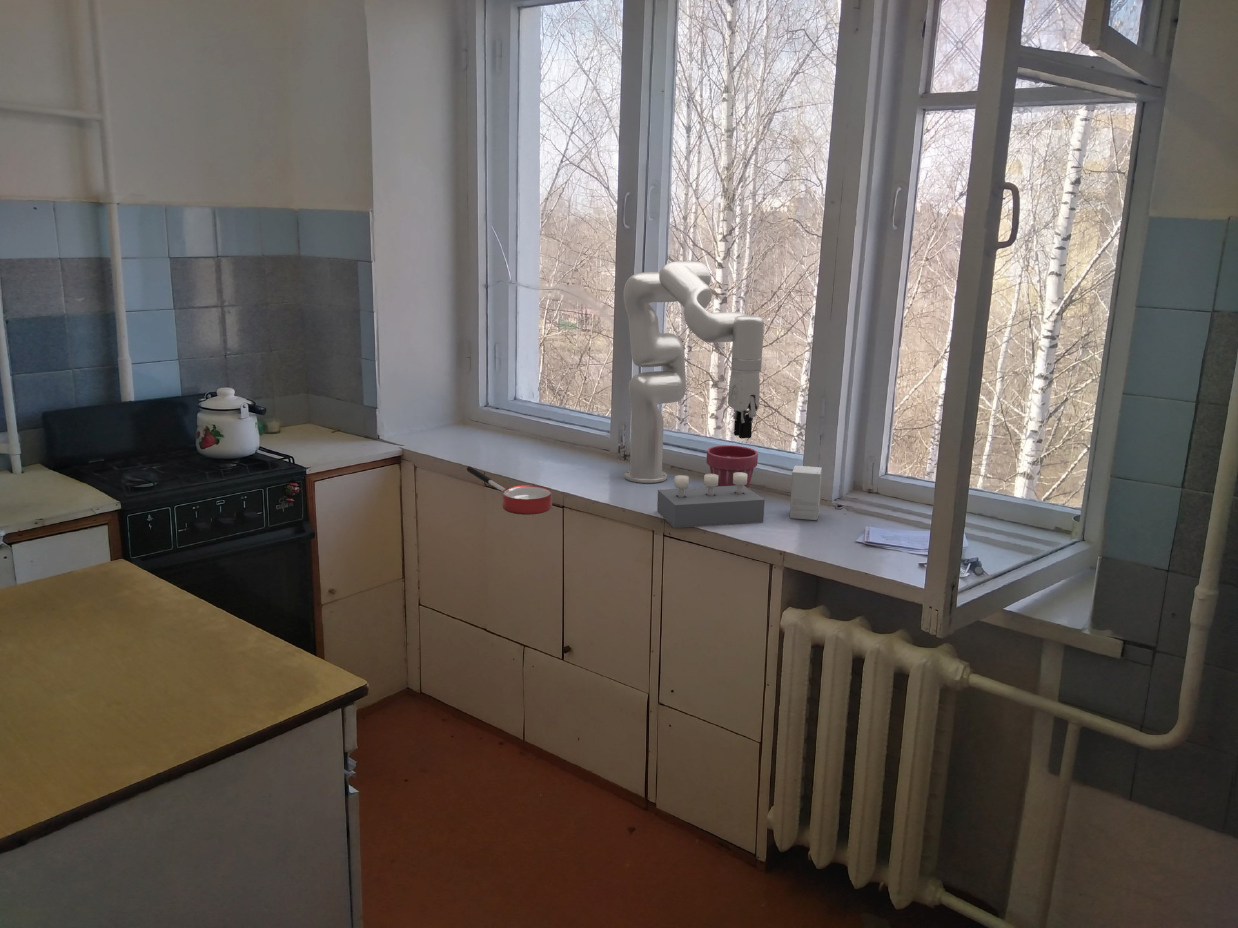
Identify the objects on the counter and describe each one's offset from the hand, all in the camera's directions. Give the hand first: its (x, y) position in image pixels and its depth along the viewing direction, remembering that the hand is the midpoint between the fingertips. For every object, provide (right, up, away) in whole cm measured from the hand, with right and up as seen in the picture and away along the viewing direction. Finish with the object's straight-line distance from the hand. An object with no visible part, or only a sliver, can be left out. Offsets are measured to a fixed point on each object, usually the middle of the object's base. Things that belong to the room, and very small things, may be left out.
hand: (742, 436), depth 244 cm
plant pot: (0, -16, +23) cm, 28 cm away
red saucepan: (-63, -17, +14) cm, 67 cm away
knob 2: (-8, -17, +2) cm, 19 cm away
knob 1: (-16, -17, 0) cm, 23 cm away
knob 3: (0, -17, +4) cm, 17 cm away
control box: (-8, -21, +3) cm, 23 cm away
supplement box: (+17, -21, +6) cm, 28 cm away
